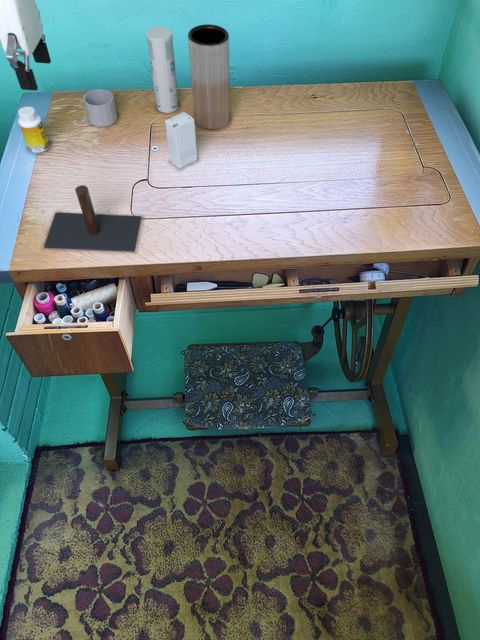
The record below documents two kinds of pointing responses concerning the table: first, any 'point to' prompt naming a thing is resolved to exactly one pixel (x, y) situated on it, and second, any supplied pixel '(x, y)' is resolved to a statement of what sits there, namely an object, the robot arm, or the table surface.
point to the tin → (100, 107)
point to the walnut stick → (87, 209)
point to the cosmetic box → (181, 139)
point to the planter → (210, 75)
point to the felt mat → (75, 235)
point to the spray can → (163, 68)
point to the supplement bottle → (33, 130)
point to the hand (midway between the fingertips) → (36, 75)
